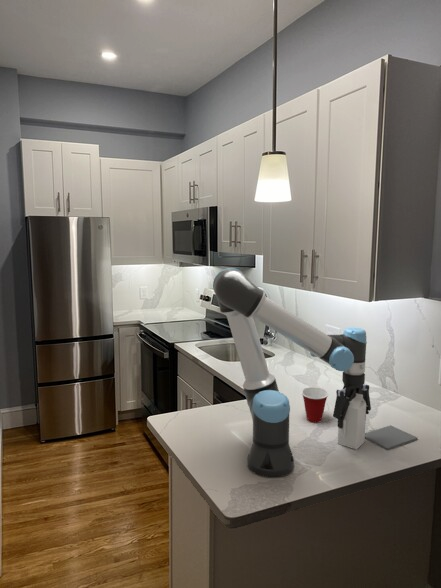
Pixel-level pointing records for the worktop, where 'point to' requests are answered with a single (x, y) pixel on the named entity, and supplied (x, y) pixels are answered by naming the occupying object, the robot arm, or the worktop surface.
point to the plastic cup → (314, 402)
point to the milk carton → (354, 423)
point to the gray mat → (389, 437)
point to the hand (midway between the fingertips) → (351, 433)
